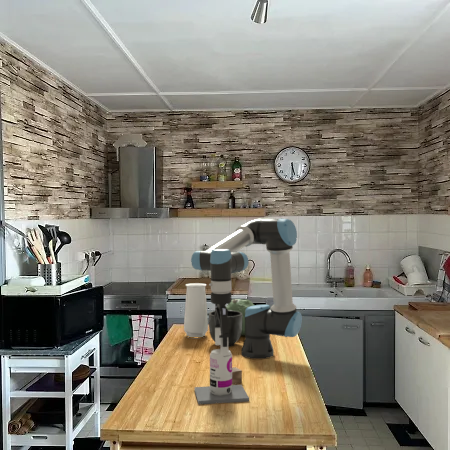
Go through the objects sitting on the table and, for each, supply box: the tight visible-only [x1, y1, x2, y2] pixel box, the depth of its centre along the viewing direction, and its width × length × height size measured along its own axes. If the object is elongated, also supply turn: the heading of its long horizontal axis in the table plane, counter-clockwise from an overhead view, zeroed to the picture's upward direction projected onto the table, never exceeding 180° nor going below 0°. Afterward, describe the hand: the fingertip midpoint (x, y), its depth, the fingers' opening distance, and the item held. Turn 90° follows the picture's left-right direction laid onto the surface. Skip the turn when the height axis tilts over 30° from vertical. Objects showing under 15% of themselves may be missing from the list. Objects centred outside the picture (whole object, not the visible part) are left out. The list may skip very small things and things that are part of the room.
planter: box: [208, 310, 243, 348], centre depth 253 cm, size 17×17×16 cm
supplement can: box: [209, 348, 233, 396], centre depth 182 cm, size 8×8×15 cm
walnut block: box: [232, 366, 243, 385], centre depth 197 cm, size 5×5×5 cm
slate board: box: [194, 384, 250, 405], centre depth 182 cm, size 18×14×1 cm
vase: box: [183, 282, 209, 338], centre depth 271 cm, size 13×13×28 cm
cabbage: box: [226, 298, 255, 336], centre depth 274 cm, size 16×19×20 cm
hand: (221, 350), depth 182 cm, fingers open, 13 cm apart
